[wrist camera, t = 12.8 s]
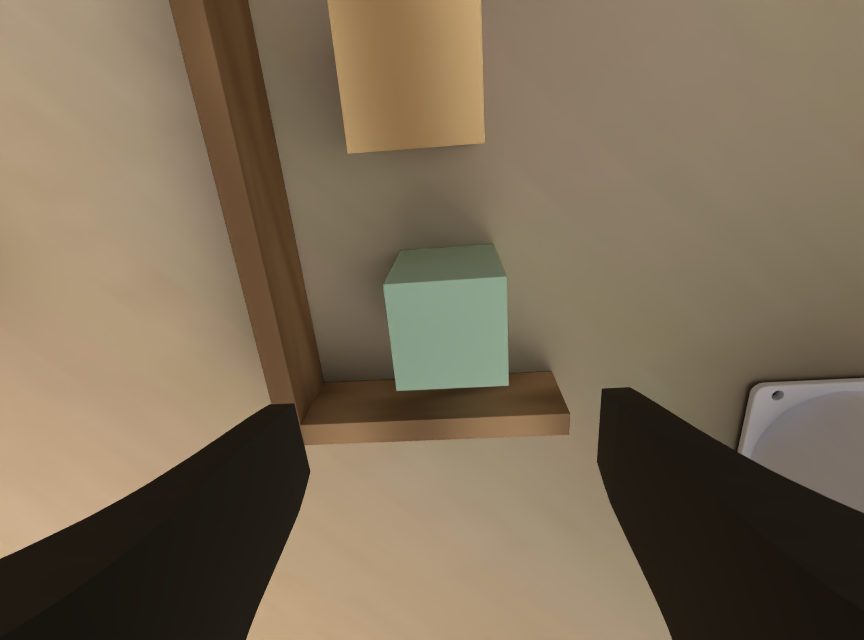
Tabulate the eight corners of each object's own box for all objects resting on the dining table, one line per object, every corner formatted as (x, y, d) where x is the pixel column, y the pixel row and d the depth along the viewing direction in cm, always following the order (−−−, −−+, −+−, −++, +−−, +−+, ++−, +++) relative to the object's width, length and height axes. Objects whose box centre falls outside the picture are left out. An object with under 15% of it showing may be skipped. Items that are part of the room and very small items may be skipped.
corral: (560, -125, 14) (592, -206, 11) (551, 389, 21) (569, 434, 18) (203, -77, 15) (133, -139, 12) (307, 401, 22) (282, 445, 19)
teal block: (493, 243, 19) (506, 276, 14) (496, 330, 20) (508, 385, 15) (400, 250, 19) (382, 284, 14) (409, 334, 20) (396, 390, 16)
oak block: (473, 24, 16) (480, -27, 11) (477, 143, 17) (484, 143, 13) (363, 34, 16) (325, -11, 11) (376, 151, 18) (347, 153, 13)
